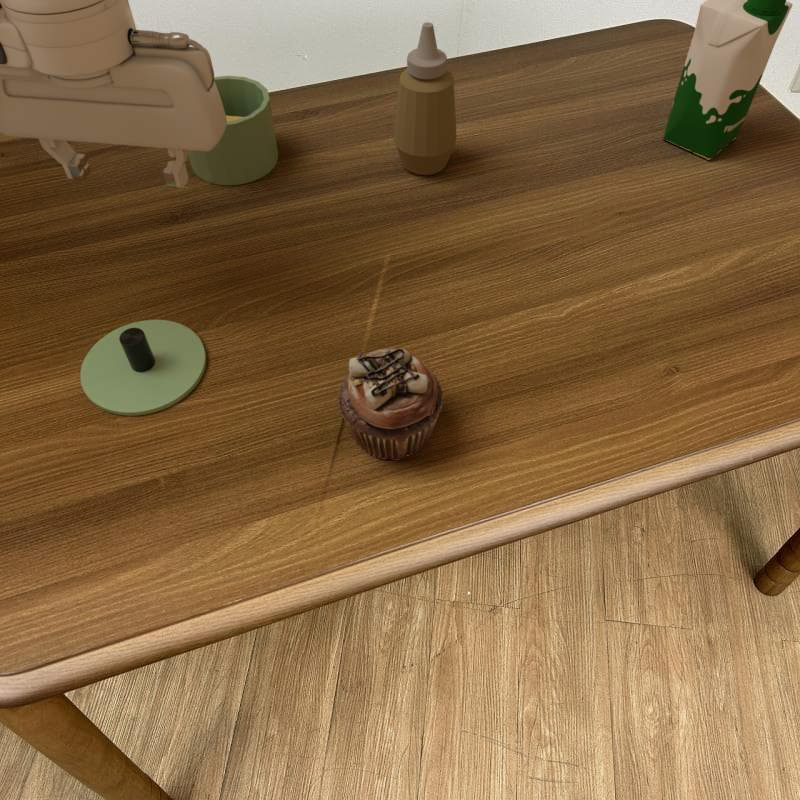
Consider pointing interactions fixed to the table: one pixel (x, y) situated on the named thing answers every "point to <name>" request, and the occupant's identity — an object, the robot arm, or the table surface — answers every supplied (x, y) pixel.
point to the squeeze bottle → (425, 108)
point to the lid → (143, 367)
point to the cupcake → (390, 402)
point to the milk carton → (723, 71)
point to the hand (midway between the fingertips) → (129, 179)
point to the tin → (240, 136)
